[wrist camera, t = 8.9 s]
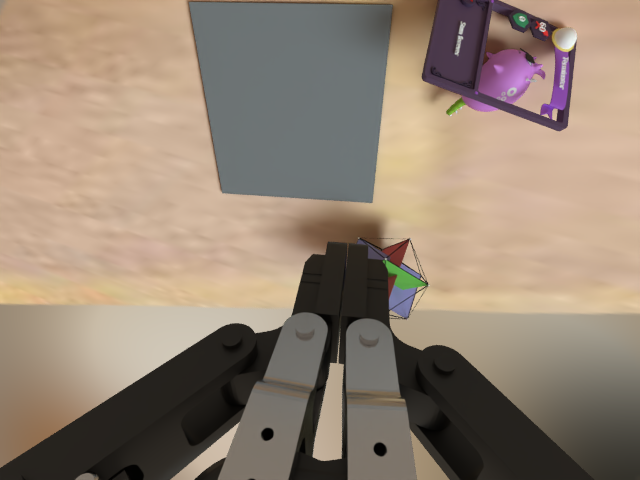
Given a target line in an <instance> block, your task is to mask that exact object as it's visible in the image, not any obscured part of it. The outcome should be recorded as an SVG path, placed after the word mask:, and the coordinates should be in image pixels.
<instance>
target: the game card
mask: <svg viewBox="0 0 640 480" xmlns="http://www.w3.org/2000/svg"><path fill="white" fill-rule="evenodd" d="M492 10H493V11H495V12H498V13H500V14H502V15H505V16H507V17H508V18H509V21H510V23H511V26H512V28H513V29H516V30H518V31H520V32H523V33H524V32H525V31H526V30H527V29H528V28H529V27H530V30H531V32H532V35H533V37H535V38H538V39H540V40H543V41H545V40H546V39H547V38H548V37H549V36H550V35H551V34H552V42H553V44H554V49H555V75H554V86H553V92H552V98H551V103H550V104H549V105H548V104H543V105H542V107H541V113H540V115H539V114H536V113H533V112H531V111H528V110H525V109H523V108H520V107H517V106H515V105H512V103H514V102H515V101H517V100H518V99H519V98H520V97H521V96H522V95H523V94H524V93H525V91H526V90H527V88H528V86H529V84H530V83H531V82H537V80H535V79H532V77H533V75H534V74H538V75H540V76H541V77H542V78H543V79H545V72H544V71H542V70H541V69H539V68H541V67H542V66H543V65H542V64H537V63H535V62H534V60H535V59H536V58H537V57H532V56H531V55H530V54H528V53H527V52H525V51H524V50H522V49H521V48H520V49H521V50H522V51H520V50H515V49H506V50H502V51H500V52H498V53H496V54H492V53H489V52H486V54H487V56H488V59H489V60H488V61H487V62H486V63H485V64H484V65H483V59H484V53H485V47H486V41H487V36H488V30H489V24H490V18H491V12H492ZM552 31H553V33H552ZM576 42H577V33H576V31H575V30H574V29H573V28H571V27H564V28H557V27H555V26H553V25H551V24H549V23H548V22H547V21H545V20H542V19H540V18H537V17H535V16H533V15H531V14H529V13H526V12H524V11H522V10H520V9H518V8H515V7H513V6H510V5H508V4H506V3H503V2H501V1H498V0H438V3H437V8H436V12H435V17H434V22H433V26H432V31H431V36H430V40H429V45H428V50H427V54H426V59H425V63H424V68H423V73H422V79H423V81H425V82H428V83H430V84H433V85H436V86H438V87H441V88H444V89H446V90H449V91H452V92H454V93H457V94H460V95H462V97H461V98H460V99H459V100H457V101H456V102H455V103H454V104H453V105H452V106H451V107H450V108H449V109H448V110H447V111H446V113H447V114H448V115H450V116H452V113H453V112H456V114H457V113H458V112H457V109H459V108H460V109H462V106H463V105H468V106H469V107H470V108H472V109H474V110H477V111H483V112H488V111H495V110H499V109H500V110H503V111H505V112H508V113H511V114H514V115H516V116H519V117H522V118H524V119H527V120H530V121H532V122H535V123H538V124H540V125H543V126H546V127H549V128H551V129H554V130H557V131H561V130H563V129H565V128H567V126H568V117H569V108H570V98H571V89H572V79H573V70H574V60H575V51H576ZM523 51H524V52H523ZM482 65H483V66H482ZM554 108H555V109H558V113H557V121H555V120H552V110H553V109H554ZM543 114H548V116H549V117H550V119H549V118H547V117H544V116H541V115H543Z"/></svg>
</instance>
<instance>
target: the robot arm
mask: <svg viewBox="0 0 640 480" xmlns="http://www.w3.org/2000/svg"><path fill="white" fill-rule="evenodd" d="M346 260H347V266H346ZM340 326H341V327H340ZM339 336H340V347H339V363H340V364H344V370H343V371H344V372H343V386H342V459H337V460H330V461H320V460H317V459H315V458H313V449H314V441H315V436H316V431H317V426H318V422H319V417H320V412H321V407H322V403H323V397H324V393H325V388H326V381H327V379H328V375H329V367H330V363H337V354H338V345H339ZM239 422H240V423H239ZM237 423H239V426H238V428H237V431H236V434H235V436H234V439H233V441H232V444H231V446H230V449H229V452H228V454H227V457H226V458H223V459H221V460H220V461H218V462H216V463H214V464H213V465H211V466H210V467H209V468H207V469H206V470H205V471H203V472H202V473H201V474H200V475H199V476H198V477H197V478H196V479H195V480H417V476H416V469H415V462H414V455H413V448H412V441H411V434H410V429H411V431H412V432H413V433H414V435H415V436H416V437H417V438H418V439H419V441H420V442H421V443H422V445H423V446H424V447H425V449H426V450H427V451H428V452H429V454H430V455H431V456H432V457H433V459H434V460H435V461H436V463H437V464H438V465H439V466H440V468H441V469H442V470H443V472H444V473H445V474H446V475H447V477H448V478H449V479H450V480H594V479H593V478H592V477H591V476H590V475H589V474H588V473H587V472H585V471H584V470H583V469H582V468H581V467H580V466H579V465H578V464H577V463H576V462H575V461H574V460H572V458H571V457H569V456H568V455H567V454H566V453H565V452H564V451H563V450H562V449H561V448H560V447H559V446H558V445H557V444H556V443H555V442H553V441H552V440H551V439H550V438H549V437H548V436H547V435H546V434H545V433H544V432H543V431H542V430H541V429H539V427H538V426H536V425H535V424H534V423H533V422H532V421H531V420H530V419H529V418H528V417H527V416H526V415H525V414H524V413H523V412H521V411H520V410H519V409H518V408H517V407H516V406H515V405H514V404H513V403H512V402H511V401H510V400H509V399H508V398H507V397H505V396H504V395H503V394H502V393H501V392H500V391H499V390H498V389H497V388H496V387H495V386H494V385H492V384H491V382H490V381H488V380H487V379H486V378H485V377H484V376H483V375H482V374H481V373H480V372H479V371H478V370H477V369H476V368H475V367H474V366H472V365H471V364H470V363H469V362H468V361H467V360H466V359H465V358H464V357H463V356H462V355H461V354H459V353H458V352H457V351H455V350H454V349H451V348H449V347H446V346H442V345H434V346H429V347H427V348H425V349H424V350H423V351H422V350H419V349H416V348H414V347H411V346H409V345H407V344H405V343H403V342H402V341H400V340H399V339H398V338H397V337H396V336H395V335H394V333H393V332H392V330H391V328H390V322H389V291H388V269H387V267H386V266H385V264H384V262H383V261H382V260H380V259H368V245H365V244H352V243H349V248H348V257H347V243H338V242H328V244H327V249H326V255H318V254H313V255H312V256H311V257H310V258H309V259H308V260H307V261H306V262H305V265H304V269H303V274H302V277H301V281H300V285H299V289H298V293H297V297H296V301H295V305H294V309H293V313H292V316H291V317H290V318H288V319H287V320H286V321H285V323H284V325H283V326H282V327H280V328H278V329H275V330H272V331H267V332H262V333H254V331H253V330H252V329H251V328H250V327H249V326H247V325H244V324H239V323H235V324H229V325H225V326H223V327H221V328H219V329H218V330H216V331H215V332H213V333H212V334H210V335H208V336H207V337H205V338H204V339H202V340H200V341H199V342H197V343H196V344H194V345H193V346H191V347H189V348H188V349H186V350H185V351H183V352H182V353H180V354H178V355H177V356H175V357H174V358H172V359H171V360H169V361H167V362H166V363H164V364H163V365H161V366H160V367H158V368H156V369H155V370H154V371H152V372H150V373H149V374H147V375H145V376H144V377H143V378H141V379H139V380H138V381H136V382H135V383H133V384H132V385H130V386H128V387H127V388H125V389H123V390H122V391H120V392H119V393H117V394H116V395H114V396H113V397H111V398H109V399H108V400H106V401H105V402H103V403H102V404H100V405H98V406H97V407H95V408H94V409H92V410H91V411H89V412H87V413H86V414H84V415H83V416H81V417H80V418H78V419H76V420H75V421H73V422H72V423H70V424H69V425H67V426H65V427H64V428H62V429H61V430H59V431H58V432H56V433H54V434H53V435H51V436H50V437H48V438H47V439H45V440H43V441H42V442H40V443H39V444H37V445H36V446H34V447H32V448H31V449H29V450H28V451H26V452H25V453H23V454H21V455H20V456H18V457H17V458H15V459H14V460H12V461H10V462H9V463H7V464H6V465H4V466H3V467H1V468H0V480H170V479H171V478H173V477H174V476H175V475H176V474H177V473H179V472H180V471H181V470H182V469H183V468H184V467H186V466H187V465H188V464H189V463H190V462H192V461H193V460H194V459H195V458H197V457H198V456H199V455H200V454H201V453H203V452H204V451H205V450H206V449H207V448H209V447H210V446H211V445H212V444H213V443H215V442H216V441H217V440H218V439H219V438H221V437H222V436H223V435H224V434H225V433H227V432H228V431H229V430H230V429H231V428H233V427H234V426H235V425H236V424H237Z"/></svg>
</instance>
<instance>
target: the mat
mask: <svg viewBox="0 0 640 480" xmlns="http://www.w3.org/2000/svg"><path fill="white" fill-rule="evenodd" d="M189 6H190V12H191V18H192V23H193V29H194V35H195V41H196V46H197V52H198V58H199V63H200V69H201V75H202V80H203V86H204V92H205V98H206V103H207V109H208V115H209V120H210V126H211V132H212V137H213V143H214V149H215V155H216V160H217V166H218V172H219V177H220V183H221V189H222V193H228V194H243V195H259V196H274V197H289V198H304V199H319V200H335V201H350V202H365V203H372V201H373V191H374V181H375V172H376V162H377V152H378V143H379V133H380V123H381V114H382V104H383V94H384V84H385V75H386V65H387V55H388V46H389V36H390V26H391V17H392V7H393V5H378V4H309V3H239V2H189Z"/></svg>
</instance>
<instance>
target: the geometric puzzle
mask: <svg viewBox="0 0 640 480" xmlns="http://www.w3.org/2000/svg"><path fill="white" fill-rule="evenodd" d="M379 239H392V238H379ZM409 240H410V242H411V238H409V239H407V240H405V241H402V242H400V243H397V244H395V245H392V246H390V247H387V248H385V249H381V248H379V247H377V246H375V245H373V244H371V243H369V242H367V241H365V240H363V239H361V238H359V237H358V241H357V244H365V245H368V259H380V260H382V261H383V262H384V264H385V266H386V267H387V269H388V291H389V309H390V310H392V311H394V312H395V313H397V314H399V315H401V316H402V317H404V319H406V320H408V318H409V317H408V316H409V313H410V310H411V307H412V304H413V301H414V297H415V294H416V293H418V292H419V291H421V290H422V289H424V288H425V287H428V286H430V285H429V284H428V282H426V281H427V280H426V281H425V279H424V278H423V277H422V275H421V273H420V274H418V273H417V272H415V271H414V270H413V269H411V268H410V267H408V266H407V265H405V264H404V263H402V260H403V257H404V255H405V252H406V249H407V246H408V243H409ZM368 243H369V244H368ZM370 244H371V245H370ZM372 245H373V246H375V247H377V248H379V249H381V250H378V249H377V248H375V247H373V246H372ZM411 245H412V243H411ZM412 246H413V245H412ZM412 249H414V248H413V247H412ZM381 251H382V252H381ZM414 251H415V250H413V252H414ZM415 254H416V253H415ZM415 254H414V255H415ZM416 256H417V255H416ZM415 258H416V257H415ZM417 259H418V258H417ZM418 261H419V260H418ZM416 262H417V260H416ZM401 263H402V264H401ZM419 264H420V263H419ZM404 265H405V266H404ZM417 265H418V263H417ZM420 266H421V265H420ZM418 268H419V267H418ZM421 269H422V268H421ZM419 271H420V270H419ZM422 271H423V270H422ZM423 273H424V272H423ZM424 276H425V275H424ZM421 277H422V278H423V279H424V281H425V282H426V283H425V282H424V281H422V280H420V278H421ZM425 278H426V277H425ZM426 285H427V286H426ZM421 286H425V287H424V288H422V289H421V290H419V291H418V292H416V291H417V288H418V287H421ZM425 290H426V289H425ZM424 292H425V291H424ZM422 295H423V294H422ZM421 297H422V296H421ZM419 300H420V299H419ZM417 303H418V302H417ZM416 305H417V304H416ZM414 308H415V307H414ZM390 310H389V311H390ZM412 311H413V310H412ZM391 316H393V315H391ZM394 317H396V316H394ZM402 317H401V318H402Z"/></svg>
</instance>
